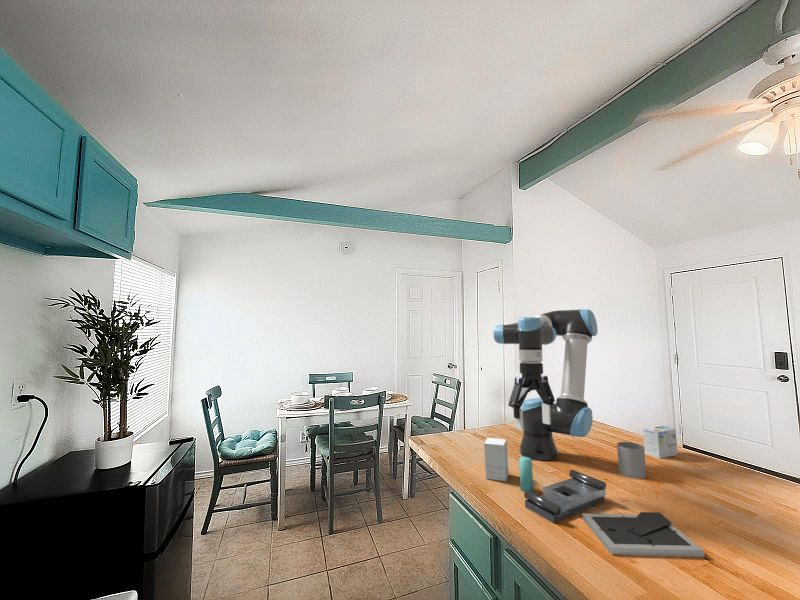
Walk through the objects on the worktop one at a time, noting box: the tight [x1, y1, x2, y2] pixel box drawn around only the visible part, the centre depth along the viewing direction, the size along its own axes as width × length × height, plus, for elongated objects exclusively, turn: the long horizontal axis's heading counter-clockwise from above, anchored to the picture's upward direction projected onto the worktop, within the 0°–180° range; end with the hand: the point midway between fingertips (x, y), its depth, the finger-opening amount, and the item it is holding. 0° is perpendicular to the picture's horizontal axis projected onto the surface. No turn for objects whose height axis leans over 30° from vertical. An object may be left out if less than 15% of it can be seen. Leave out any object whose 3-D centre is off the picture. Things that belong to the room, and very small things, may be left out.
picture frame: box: [581, 511, 705, 559], centre depth 91 cm, size 16×3×21 cm
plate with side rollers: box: [523, 469, 607, 524], centre depth 108 cm, size 11×24×6 cm, turn 118°
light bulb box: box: [642, 425, 678, 459], centre depth 148 cm, size 11×7×11 cm, turn 108°
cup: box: [616, 441, 647, 479], centre depth 130 cm, size 8×8×10 cm
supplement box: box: [483, 437, 509, 482], centre depth 130 cm, size 7×7×13 cm
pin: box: [518, 456, 534, 493], centre depth 118 cm, size 4×4×10 cm
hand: (533, 426), depth 119 cm, fingers open, 13 cm apart
